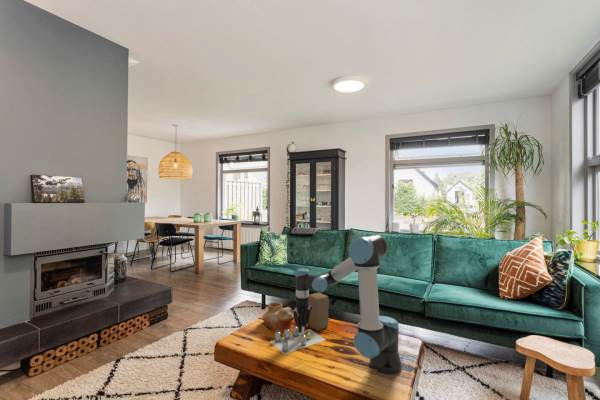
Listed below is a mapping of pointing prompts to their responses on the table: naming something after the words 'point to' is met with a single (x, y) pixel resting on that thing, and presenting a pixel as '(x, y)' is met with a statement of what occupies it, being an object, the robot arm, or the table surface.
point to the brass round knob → (307, 335)
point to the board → (298, 342)
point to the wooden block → (318, 311)
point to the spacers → (287, 337)
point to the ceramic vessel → (278, 317)
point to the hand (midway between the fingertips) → (301, 337)
